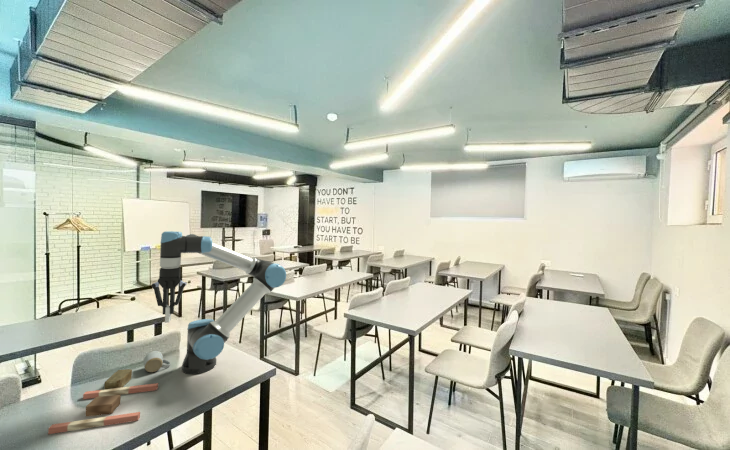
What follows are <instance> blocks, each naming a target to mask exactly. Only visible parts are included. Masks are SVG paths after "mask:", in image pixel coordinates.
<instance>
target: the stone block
mask: <svg viewBox="0 0 730 450" xmlns="http://www.w3.org/2000/svg"><path fill="white" fill-rule="evenodd" d="M132 374H133V369H132V368H129V369H127V368H126V369H117V370H116V371H115V372H114V373H113V374H112V375H110V376H109V377H108V379H106V380H105V381H104V384H103V385H104V386H103V388H104V389H112V388H121V387H125V385H127V384H128V383H129V382H130V381H131V380H132ZM104 389H103V390H104Z"/></svg>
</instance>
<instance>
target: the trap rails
mask: <svg viewBox="0 0 730 450" xmlns="http://www.w3.org/2000/svg"><path fill="white" fill-rule="evenodd" d="M130 386H131V387H130V388H129V392H128V394H127V395H129V394H137V393H138V394H139V393H145V392H152V391H158V389H159V382H156V383H149V384H147V383H146V384H139V385H130ZM101 390H102V389H98V390H89V391H85V392H84V393H83V394H82V400H89V399H95V398H96V397H99V392H100V391H101ZM105 417H106V418H105V420H104V426H105V427H106V426H110V425H111V426H113V425H118V424H124V423H131V422H132V423H133V422H138V421H139V419H140V418H141V412H140V411H136V412H129V413H122V414H121V413H120V414H116V415H114V414H113V415H109V416H108V415H106V416H105ZM70 422H71V421H67V422H61V423H60V422H59V423H53V424H51V425H50V426H49V427H48V428H47V429H48V430H47V431H48V432H47V434H48V435H52V434H59V433H66V432H68V431H67V427H68V425H69V424H70ZM104 426H103V427H104Z"/></svg>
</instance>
